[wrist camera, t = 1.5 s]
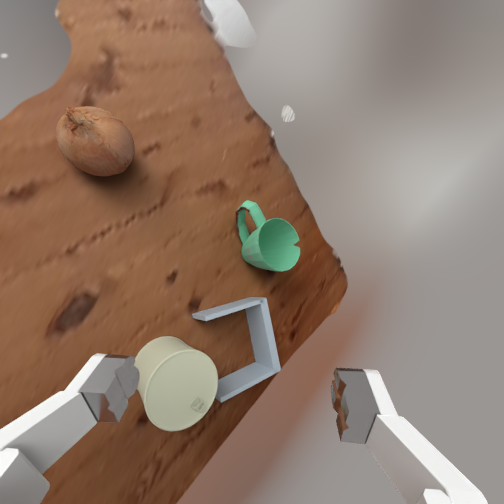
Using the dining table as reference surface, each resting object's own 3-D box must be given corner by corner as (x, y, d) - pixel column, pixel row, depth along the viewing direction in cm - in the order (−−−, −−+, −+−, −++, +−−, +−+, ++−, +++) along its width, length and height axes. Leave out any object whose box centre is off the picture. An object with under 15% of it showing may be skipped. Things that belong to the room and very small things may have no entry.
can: (158, 410, 38) (180, 451, 28) (117, 370, 36) (125, 400, 26) (201, 361, 42) (233, 382, 32) (167, 324, 40) (190, 333, 30)
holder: (206, 389, 42) (221, 402, 37) (192, 313, 43) (204, 316, 38) (262, 362, 49) (280, 370, 44) (249, 297, 50) (266, 297, 45)
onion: (70, 162, 39) (18, 114, 29) (116, 127, 41) (81, 72, 31) (111, 200, 38) (71, 164, 28) (155, 163, 40) (133, 117, 31)
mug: (276, 257, 55) (308, 250, 47) (248, 284, 50) (278, 283, 42) (240, 203, 52) (267, 185, 44) (207, 226, 47) (230, 211, 38)
